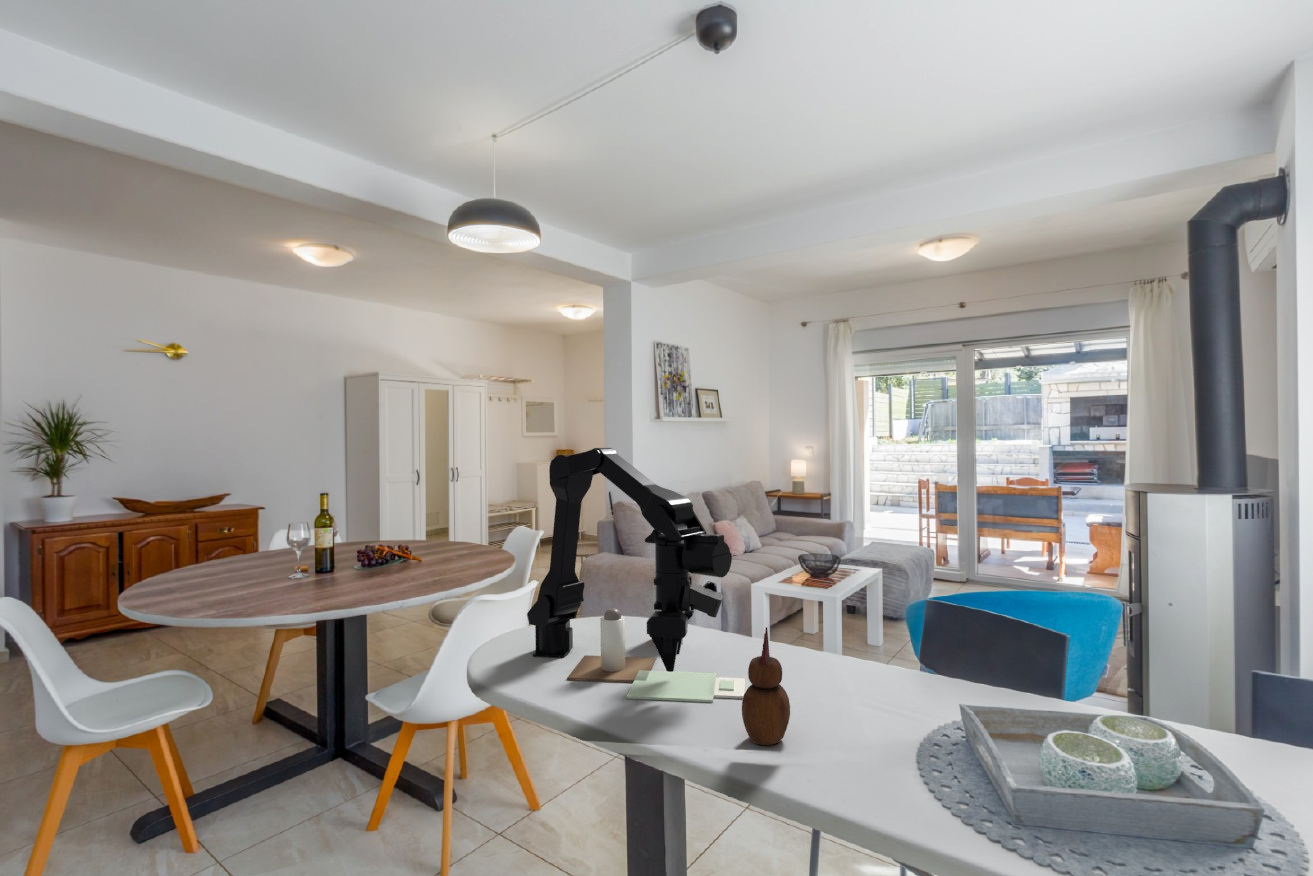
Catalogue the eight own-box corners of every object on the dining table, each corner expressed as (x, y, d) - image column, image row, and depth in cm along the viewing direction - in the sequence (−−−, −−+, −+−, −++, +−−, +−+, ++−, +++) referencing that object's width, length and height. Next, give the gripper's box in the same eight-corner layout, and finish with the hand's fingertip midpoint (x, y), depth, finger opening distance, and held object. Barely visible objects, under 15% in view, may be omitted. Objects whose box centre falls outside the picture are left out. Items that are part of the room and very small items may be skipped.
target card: (707, 697, 103) (707, 692, 103) (710, 679, 111) (710, 675, 111) (744, 698, 102) (744, 694, 102) (745, 680, 110) (745, 676, 110)
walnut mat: (567, 679, 111) (567, 677, 111) (584, 657, 123) (584, 655, 123) (645, 683, 109) (645, 680, 109) (655, 660, 121) (655, 657, 121)
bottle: (598, 671, 114) (597, 611, 114) (604, 662, 119) (603, 605, 119) (623, 672, 114) (622, 611, 114) (627, 663, 118) (626, 605, 118)
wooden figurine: (760, 725, 92) (758, 622, 92) (796, 736, 88) (794, 629, 89) (735, 742, 87) (733, 633, 87) (772, 755, 83) (770, 640, 83)
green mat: (626, 698, 103) (626, 696, 103) (639, 672, 114) (639, 670, 114) (713, 702, 101) (713, 699, 101) (716, 675, 112) (716, 673, 112)
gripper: (716, 583, 97) (718, 685, 97) (721, 561, 116) (723, 647, 116) (645, 581, 99) (646, 682, 99) (661, 560, 117) (662, 645, 117)
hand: (673, 662), depth 108 cm, fingers open, 8 cm apart
